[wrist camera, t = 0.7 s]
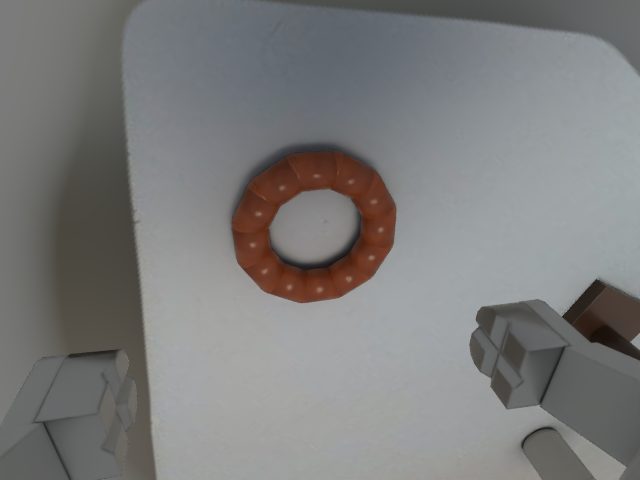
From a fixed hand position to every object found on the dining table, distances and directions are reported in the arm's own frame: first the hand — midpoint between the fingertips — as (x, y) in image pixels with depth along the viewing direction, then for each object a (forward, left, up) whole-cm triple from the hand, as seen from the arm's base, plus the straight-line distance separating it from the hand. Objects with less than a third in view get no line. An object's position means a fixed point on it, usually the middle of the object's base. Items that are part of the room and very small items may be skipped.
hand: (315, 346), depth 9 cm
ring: (+4, +6, -17) cm, 19 cm away
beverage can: (+19, +46, -18) cm, 53 cm away
